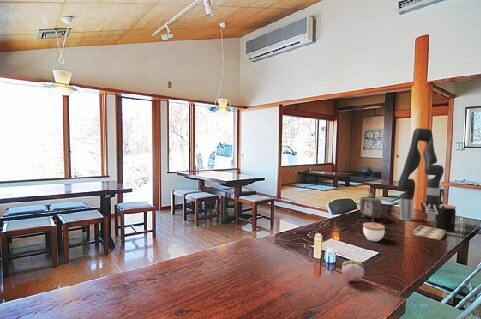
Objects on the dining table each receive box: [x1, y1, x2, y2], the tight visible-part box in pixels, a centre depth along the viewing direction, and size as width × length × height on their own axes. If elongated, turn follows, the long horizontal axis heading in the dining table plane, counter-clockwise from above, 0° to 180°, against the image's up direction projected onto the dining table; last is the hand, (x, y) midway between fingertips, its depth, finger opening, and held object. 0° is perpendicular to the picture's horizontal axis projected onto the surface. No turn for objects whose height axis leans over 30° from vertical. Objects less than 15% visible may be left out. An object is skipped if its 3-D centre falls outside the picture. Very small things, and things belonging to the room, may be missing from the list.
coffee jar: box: [435, 203, 457, 233], centre depth 194 cm, size 11×11×18 cm
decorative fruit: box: [341, 259, 365, 282], centre depth 121 cm, size 9×8×10 cm
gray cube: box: [426, 210, 436, 222], centre depth 187 cm, size 4×4×5 cm
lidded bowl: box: [362, 221, 386, 242], centre depth 175 cm, size 13×13×11 cm
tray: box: [412, 225, 447, 241], centre depth 185 cm, size 15×18×3 cm
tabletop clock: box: [359, 188, 382, 222], centre depth 222 cm, size 14×9×25 cm, turn 17°
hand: (431, 218), depth 187 cm, fingers closed on gray cube, 4 cm apart
